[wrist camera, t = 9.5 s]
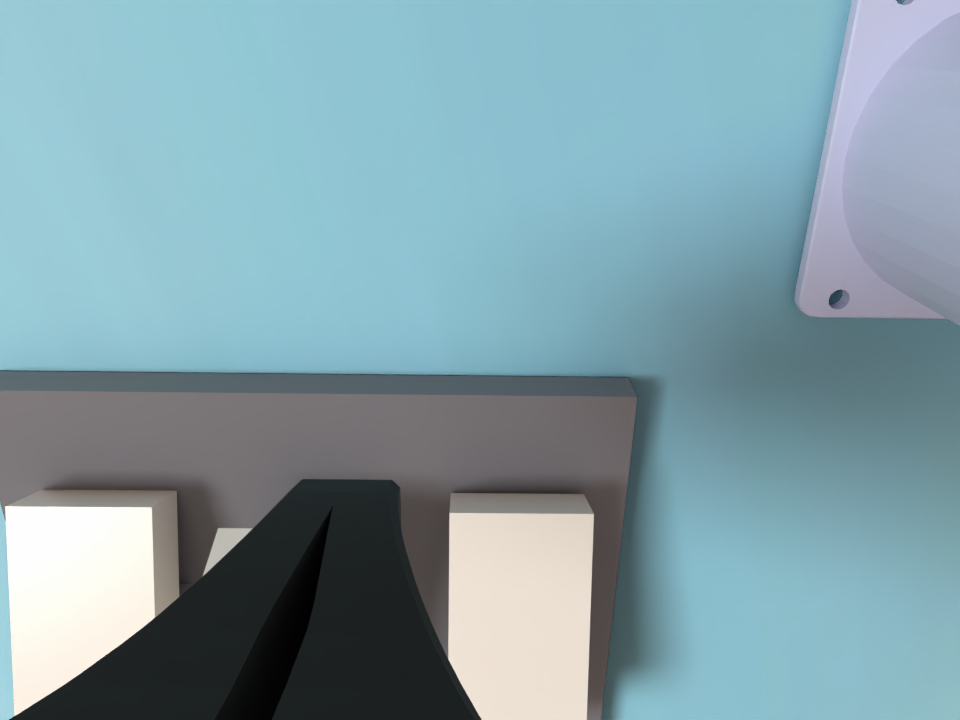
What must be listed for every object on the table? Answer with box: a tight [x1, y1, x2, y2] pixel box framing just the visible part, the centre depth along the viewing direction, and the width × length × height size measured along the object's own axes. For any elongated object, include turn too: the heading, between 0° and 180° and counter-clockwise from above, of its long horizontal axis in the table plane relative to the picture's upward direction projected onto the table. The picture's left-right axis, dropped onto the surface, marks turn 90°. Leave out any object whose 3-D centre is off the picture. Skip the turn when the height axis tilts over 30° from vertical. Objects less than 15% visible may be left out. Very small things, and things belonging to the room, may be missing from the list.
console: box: [0, 371, 638, 720], centre depth 22 cm, size 17×13×2 cm
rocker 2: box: [448, 493, 594, 720], centre depth 20 cm, size 4×8×2 cm, turn 179°
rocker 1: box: [5, 490, 179, 716], centre depth 20 cm, size 4×8×2 cm, turn 179°
